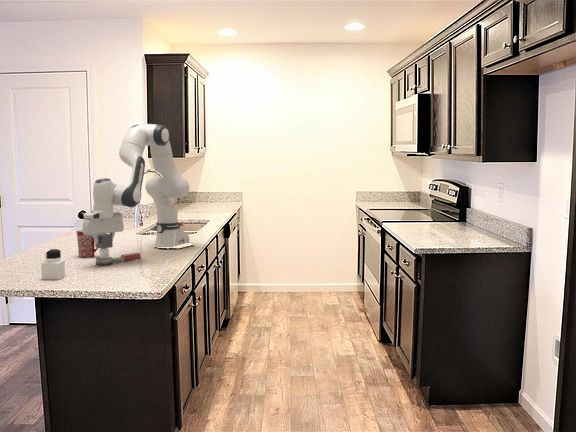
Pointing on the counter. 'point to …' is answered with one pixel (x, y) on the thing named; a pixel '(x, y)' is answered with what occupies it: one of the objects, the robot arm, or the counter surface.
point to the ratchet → (106, 260)
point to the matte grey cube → (105, 241)
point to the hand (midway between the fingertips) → (103, 242)
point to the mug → (85, 245)
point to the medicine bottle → (53, 265)
